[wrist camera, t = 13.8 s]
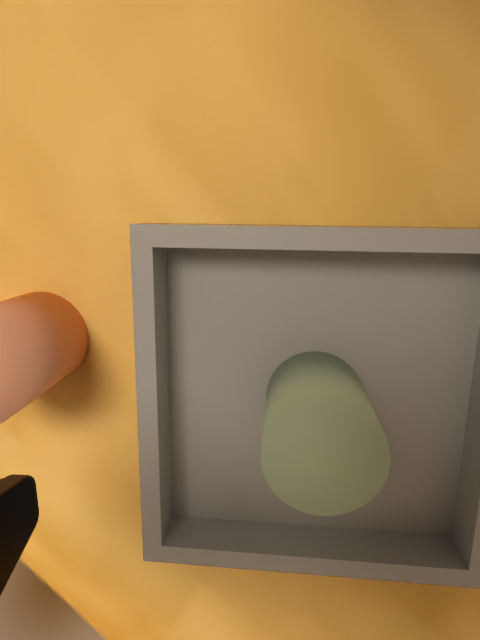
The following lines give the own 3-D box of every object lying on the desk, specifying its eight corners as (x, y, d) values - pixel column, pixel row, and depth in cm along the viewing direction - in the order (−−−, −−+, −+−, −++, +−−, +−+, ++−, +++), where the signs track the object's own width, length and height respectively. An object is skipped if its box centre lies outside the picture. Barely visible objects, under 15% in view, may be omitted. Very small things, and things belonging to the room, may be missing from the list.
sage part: (366, 353, 18) (396, 402, 13) (359, 442, 19) (385, 520, 14) (267, 349, 18) (261, 396, 14) (265, 437, 19) (259, 511, 15)
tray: (507, 228, 17) (546, 230, 15) (461, 542, 20) (487, 589, 18) (150, 223, 18) (129, 223, 16) (159, 520, 22) (143, 560, 19)
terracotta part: (85, 292, 19) (19, 318, 15) (91, 379, 20) (30, 431, 15) (-3, 290, 20) (-95, 314, 15) (7, 376, 21) (-78, 425, 16)
